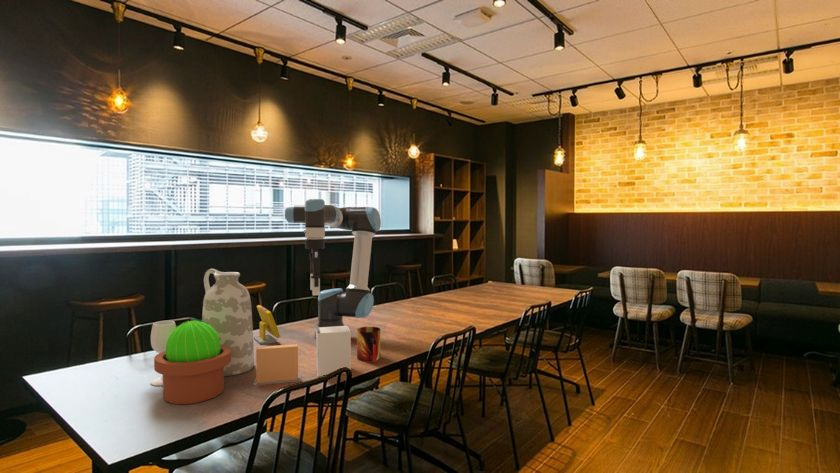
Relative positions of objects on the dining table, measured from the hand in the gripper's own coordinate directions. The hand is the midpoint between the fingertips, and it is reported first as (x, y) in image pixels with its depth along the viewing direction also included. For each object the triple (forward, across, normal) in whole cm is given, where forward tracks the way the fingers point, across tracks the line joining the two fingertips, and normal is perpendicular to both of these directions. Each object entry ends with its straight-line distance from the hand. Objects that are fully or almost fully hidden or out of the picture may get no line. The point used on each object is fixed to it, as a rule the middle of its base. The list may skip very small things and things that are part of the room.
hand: (314, 292), depth 177 cm
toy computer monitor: (+29, -41, -20) cm, 54 cm away
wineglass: (+29, +5, -52) cm, 60 cm away
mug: (+29, -1, +23) cm, 37 cm away
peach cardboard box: (+28, +14, -14) cm, 35 cm away
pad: (+29, +14, -14) cm, 35 cm away
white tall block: (+29, +10, +6) cm, 31 cm away
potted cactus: (+29, +20, -40) cm, 53 cm away
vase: (+29, -4, -33) cm, 44 cm away
